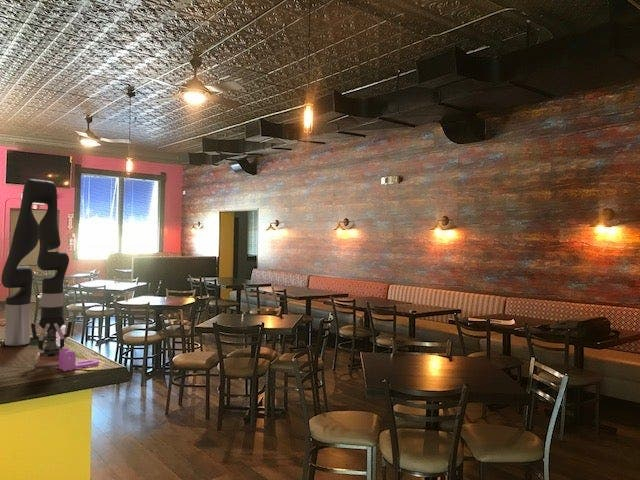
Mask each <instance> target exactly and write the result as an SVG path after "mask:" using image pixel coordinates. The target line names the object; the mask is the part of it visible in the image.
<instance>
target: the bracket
mask: <svg viewBox="0 0 640 480" xmlns="http://www.w3.org/2000/svg"><path fill="white" fill-rule="evenodd" d="M59 351H60V353H59V365H58V368H59V369H60V370H61V369H62V371H64V372H67V370H69V371H73V370H72V369H75V370H78V369H77V368H81V369H84V368H83V367H87V368H89V367H88V366H93V367H95V366H94V365H97V366H99V365H100V360H98V359H87V360H86V359H84V360H80V361H76V359H77V358H76V357H77V356H76V353H75V352H74V350H70V349H69V348H66V347H63V348H62V349H60V350H59ZM98 364H99V365H98Z"/></svg>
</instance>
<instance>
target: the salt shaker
mask: <svg viewBox="0 0 640 480" xmlns="http://www.w3.org/2000/svg"><path fill="white" fill-rule="evenodd" d="M46 335H47V337H46V338H45V339H46V346H43V350H42V351H43V352H44V353H45V354H46V356H44V357H51V356H58V355H56V354H57V353H58V351H60V346H57V345H56V338H57V337H56V332H55V330H53V329H51V330H49V332H46Z"/></svg>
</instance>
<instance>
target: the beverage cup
mask: <svg viewBox="0 0 640 480" xmlns="http://www.w3.org/2000/svg"><path fill="white" fill-rule="evenodd" d="M60 329H61V330H62V333H63V335H64V334H66V329H67V327H66V324H63V326H62V327H61V328H60ZM56 337H57V338H56V345H57V346H60V336H59V334H58V332H57V331H56ZM62 349H64V347H62Z"/></svg>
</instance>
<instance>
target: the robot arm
mask: <svg viewBox="0 0 640 480" xmlns="http://www.w3.org/2000/svg"><path fill="white" fill-rule="evenodd" d="M22 190H23V191H22V195H21V196H22V197H21V202H20V208H19V213H18V217H17V221H16V225H15V228H14V231H13V235H12V240H11V243H10V248H9V253H8V256H7V258H6V260H5V264H4V266H3V270H2V273H1V278H0V279H1V285H2V287H3V288H5V289H17V288H19V290H18V291H17V292H15V293H14V294H11V295H8V296H6V297H5V310H4V311H5V315H4V316H5V319H4V325H5V327H4V345H5V346H11V347H12V346H13V347H14V346H23V345H24V346H25V345H28V344H31V334H32V339H33V340H36V341H38V350H40V352H43V351H44V350H43V348H44V339H43V338H44V337H45V335H47V333H48V332H49V330H51V329H53V330H55V332H56V331H57V332H58V334H59V336H60V348H59V350H62V349H63V348H65V339H66V338H69V337H70V336H71V330H72V325H73V321H72V320H65V319H64V304H65V302H64V280H65V277H66V272H67V270H68V268H69V267H68V266H69V265H70V264H69V263H70V257H69V255H68V253H67V252H65V251H53V250H56V249H58V248H59V247H60V246H61V238H60V232H59V231H60V230H59V225H58V224H59V223H58V189H57V185H56V184H55V182H53V181H50V180H45V179H44V180H43V179H35V178H29V179H27V180H26V181H25V183H24V186H23V189H22ZM33 204H46V205H47V209H46V212H45V214H44V216H43V217H42V218H41V220H40V222H38V221H37V218H36V217H35V215H34V212H33V209H32V208H33ZM38 243H39V251H38V255H37V256H38V257H37V261H36V262H37V267H38V269H39V270H41V271H44V272H45V271H46V272H47V271H48V272H49V271H56V272H55V273H54V274H53V275H50V276H46V277H44V278H43V279H42V282H41V283H42V284H41V286H42V287H41V298H40V320H39V321H37V322H31V303H32V302H31V300H32V292H33V291H32V289H33V279H34V278H33V277H34V276H33V269H32V268H31V266H29V265H19V264H20V263H21V262H22V260H23V259H24V258H26V257H27V256H28V255H29V254H30V253H31V252H32V251H33V250H34V249H35V248H36V247H37V246H38ZM63 325H66V330H65V334H64V335H63V333H62V330H61V329H60V328H61V327H62V326H63ZM39 326H40V327H41V329H42V330H41V332H40V335H37V334H38V333H37V328H38V327H39ZM62 347H63V348H62Z"/></svg>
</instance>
